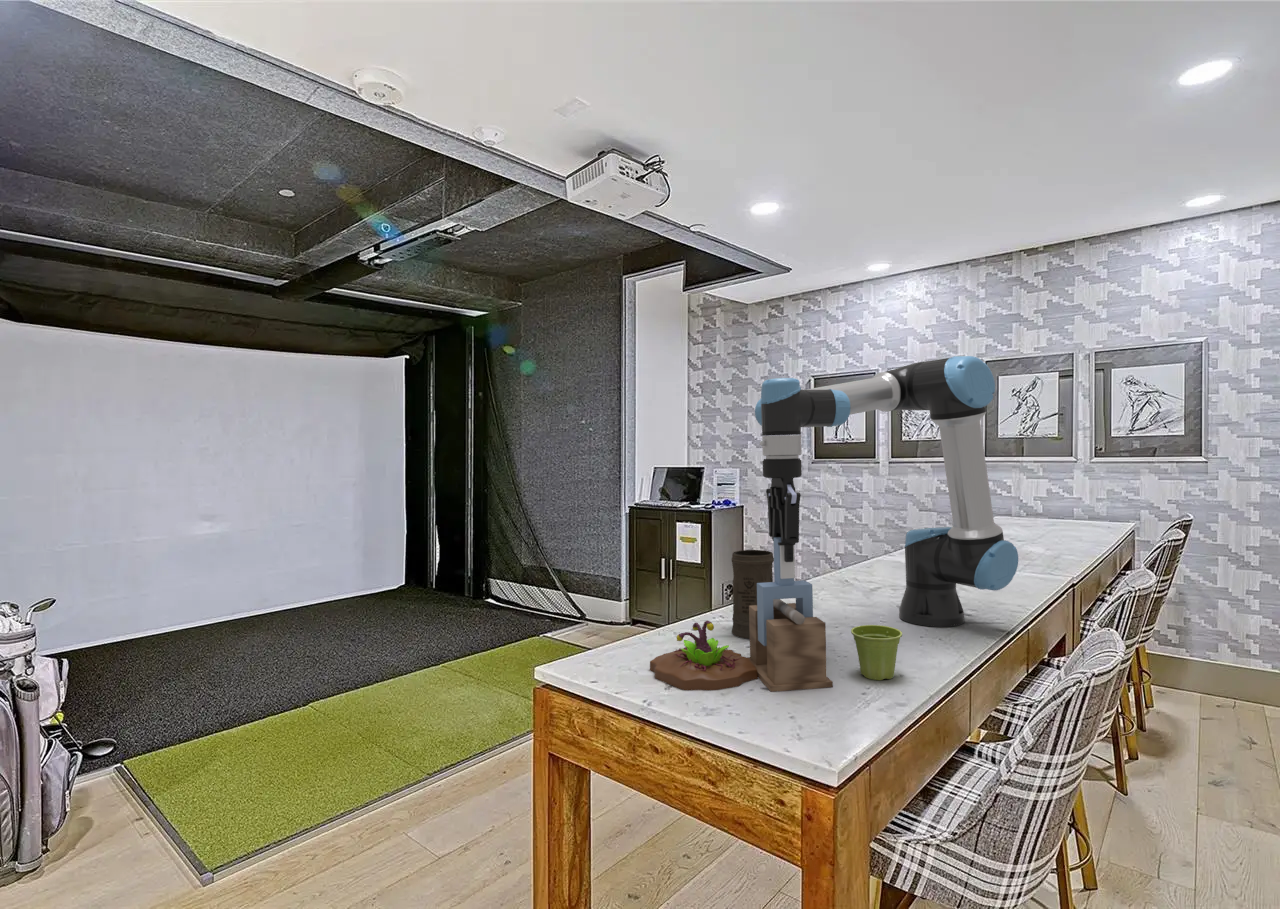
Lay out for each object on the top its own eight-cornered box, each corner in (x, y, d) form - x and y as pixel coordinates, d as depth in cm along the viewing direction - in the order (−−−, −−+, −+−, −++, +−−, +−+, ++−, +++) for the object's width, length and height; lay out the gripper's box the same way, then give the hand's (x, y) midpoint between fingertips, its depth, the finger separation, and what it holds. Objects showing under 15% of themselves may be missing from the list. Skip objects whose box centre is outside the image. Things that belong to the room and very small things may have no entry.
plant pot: (897, 687, 127) (896, 640, 126) (846, 679, 132) (845, 634, 131) (907, 672, 135) (906, 628, 134) (858, 664, 140) (858, 622, 139)
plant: (684, 699, 124) (682, 638, 124) (638, 668, 142) (637, 614, 142) (774, 680, 133) (773, 623, 133) (720, 653, 150) (719, 602, 150)
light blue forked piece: (806, 637, 138) (803, 535, 137) (813, 642, 134) (811, 538, 133) (758, 640, 136) (755, 538, 136) (764, 646, 132) (761, 540, 132)
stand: (799, 658, 144) (798, 592, 144) (832, 687, 127) (831, 612, 127) (744, 662, 143) (743, 595, 142) (770, 691, 126) (769, 616, 126)
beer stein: (777, 641, 157) (775, 553, 158) (730, 639, 159) (728, 553, 160) (777, 627, 172) (775, 547, 173) (734, 626, 174) (733, 547, 175)
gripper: (751, 457, 142) (753, 569, 142) (776, 458, 126) (779, 585, 126) (786, 456, 143) (788, 567, 143) (815, 457, 127) (818, 583, 127)
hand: (784, 575), depth 135 cm, fingers closed on light blue forked piece, 3 cm apart
